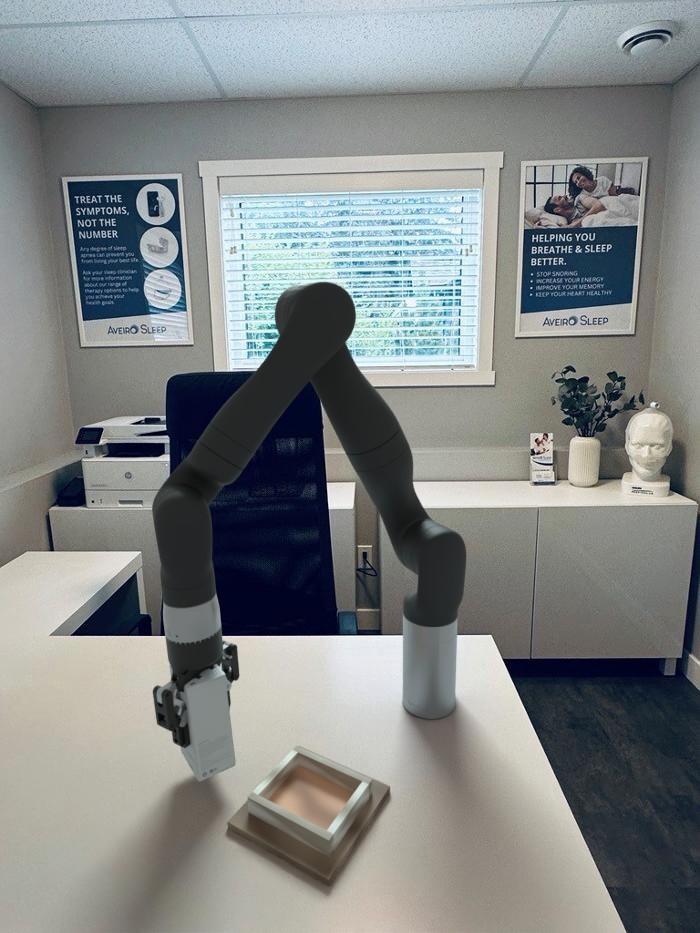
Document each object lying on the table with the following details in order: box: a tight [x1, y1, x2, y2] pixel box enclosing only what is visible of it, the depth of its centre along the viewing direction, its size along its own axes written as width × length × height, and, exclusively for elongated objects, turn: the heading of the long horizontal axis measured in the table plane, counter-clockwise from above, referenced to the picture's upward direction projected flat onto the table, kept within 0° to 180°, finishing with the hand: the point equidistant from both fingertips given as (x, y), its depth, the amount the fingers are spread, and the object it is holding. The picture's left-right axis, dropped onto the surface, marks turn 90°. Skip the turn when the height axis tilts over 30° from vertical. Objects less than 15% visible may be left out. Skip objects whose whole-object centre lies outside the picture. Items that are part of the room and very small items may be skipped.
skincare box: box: [169, 664, 237, 782], centre depth 80 cm, size 8×6×15 cm
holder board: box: [227, 745, 391, 887], centre depth 75 cm, size 16×16×4 cm
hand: (204, 727), depth 80 cm, fingers closed on skincare box, 7 cm apart
